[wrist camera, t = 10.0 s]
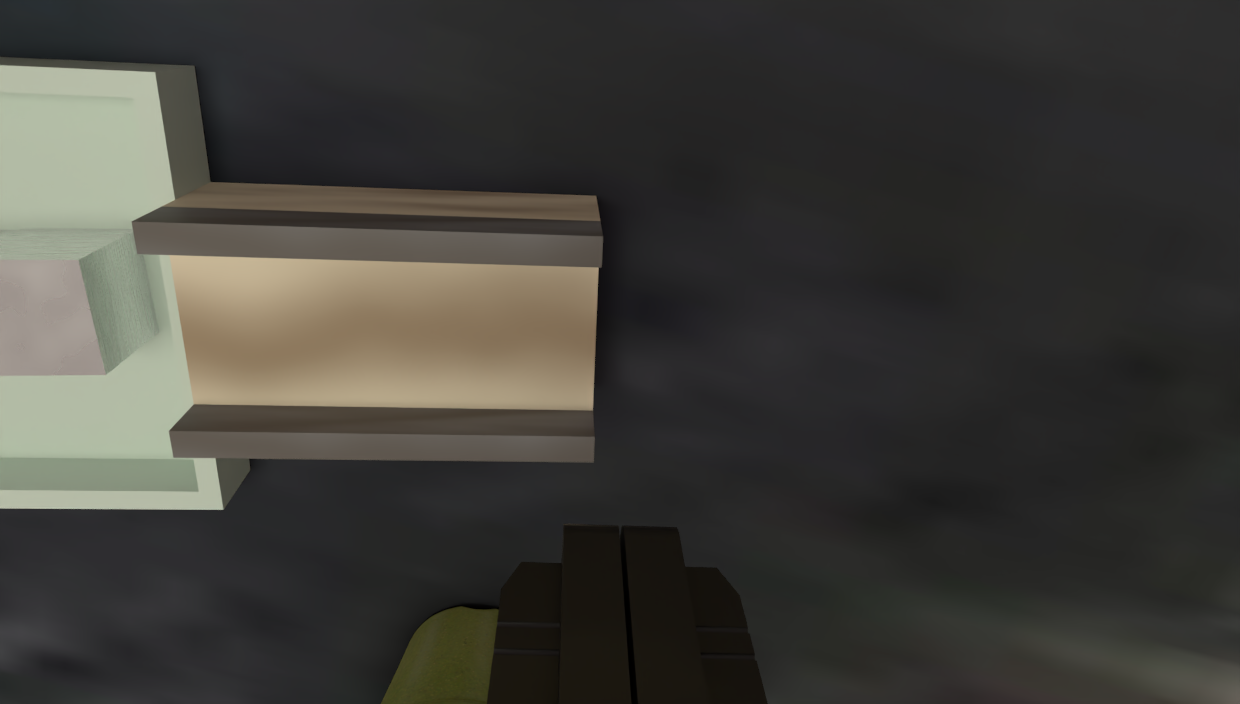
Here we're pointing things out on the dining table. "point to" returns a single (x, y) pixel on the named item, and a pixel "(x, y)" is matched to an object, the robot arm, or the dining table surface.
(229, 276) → the slot board
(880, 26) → the dining table surface
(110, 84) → the tray
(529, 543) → the dining table surface
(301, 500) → the dining table surface
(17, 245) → the light grey cube
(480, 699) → the plant pot
